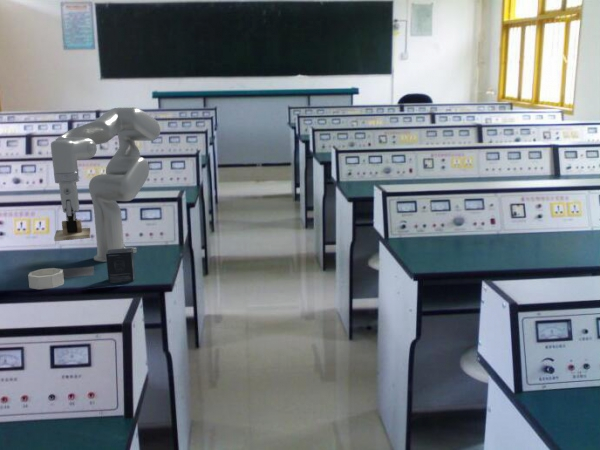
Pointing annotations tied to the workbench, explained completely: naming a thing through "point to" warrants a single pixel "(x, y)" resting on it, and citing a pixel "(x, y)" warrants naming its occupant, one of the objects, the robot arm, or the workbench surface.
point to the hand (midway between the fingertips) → (72, 230)
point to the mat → (78, 272)
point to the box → (120, 265)
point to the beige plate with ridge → (80, 233)
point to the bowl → (46, 278)
